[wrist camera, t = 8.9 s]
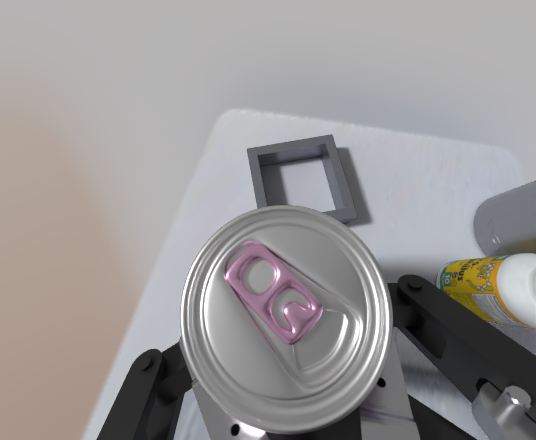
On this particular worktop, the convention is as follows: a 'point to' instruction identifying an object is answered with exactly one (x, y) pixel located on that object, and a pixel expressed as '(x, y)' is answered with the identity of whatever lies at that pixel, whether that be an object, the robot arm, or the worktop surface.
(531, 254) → the supplement bottle
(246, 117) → the worktop surface
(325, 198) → the worktop surface
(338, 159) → the collar
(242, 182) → the worktop surface
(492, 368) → the robot arm
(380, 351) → the beverage can
